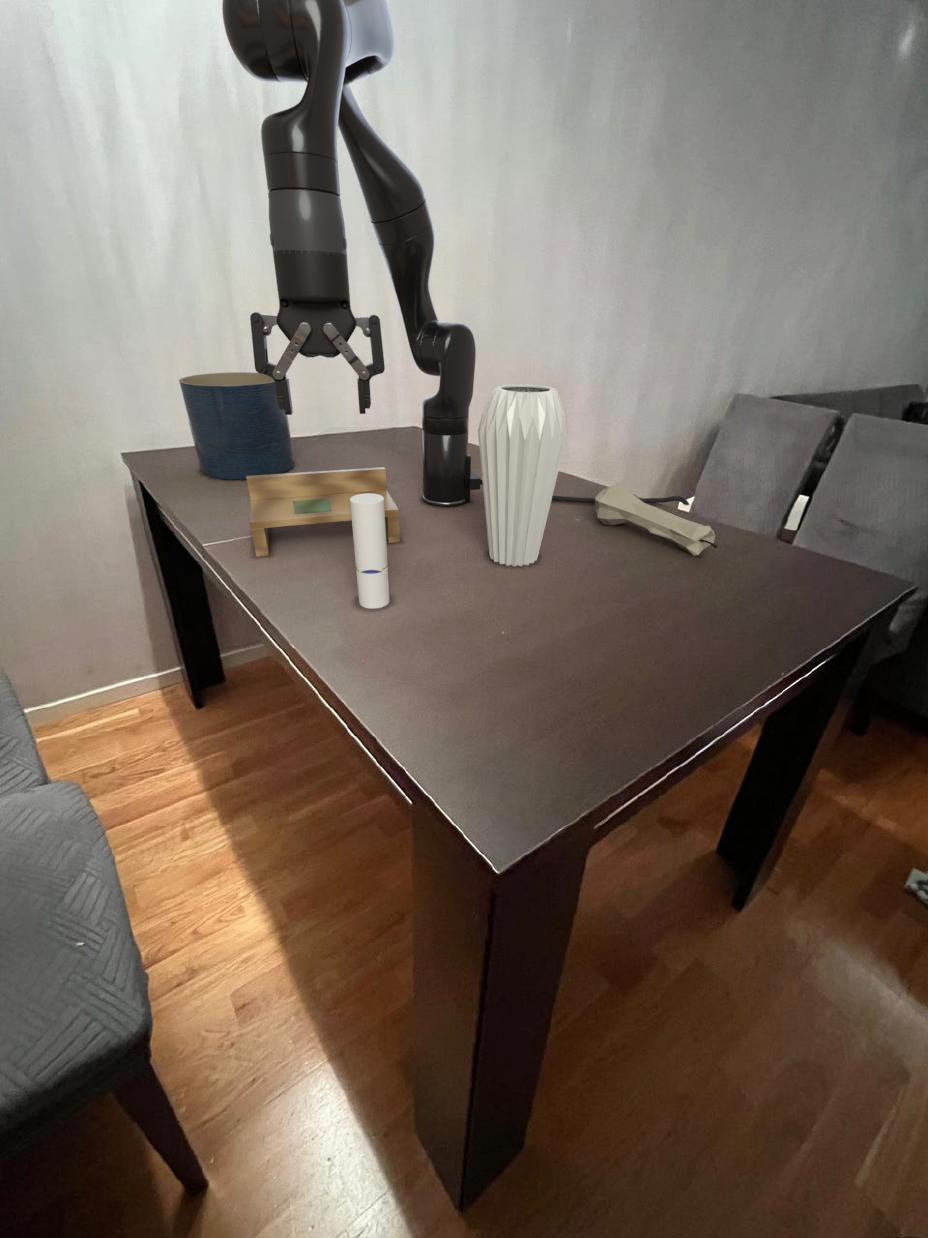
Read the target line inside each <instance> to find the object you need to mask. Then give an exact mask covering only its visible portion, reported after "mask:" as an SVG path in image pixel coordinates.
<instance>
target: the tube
mask: <svg viewBox="0 0 928 1238" xmlns="http://www.w3.org/2000/svg"><path fill="white" fill-rule="evenodd" d="M350 506H351V517H352V520H351V526H352V527H351V528H352V539H353V550H354V559H355V560H354V561H355V568H356V569H355V570H356V571H355V572H356V583H357V595H358V604H359V605H360V607H362V608H365V609H372V610H373V609H382V608H383V607H386V606H387V605H389V603H390V601H391V600H390V584H389V567H388V549H387V538H386V529H385V511H384V497H383V496H381V495H378V494H371V493H365V494H358V495H355V496H352V497H351V498H350Z"/></svg>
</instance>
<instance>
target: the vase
mask: <svg viewBox="0 0 928 1238" xmlns="http://www.w3.org/2000/svg"><path fill="white" fill-rule="evenodd" d="M567 424H568V423H567V417H566V410H565V407H564V404H563V402H562V399H561V397H560V395H559V392H558V390H557V388H555V387H550V386H547V385H542V384H541V385H539V384H538V385H537V384H526V383H523V384H522V383H521V384H518V383H515V384H501V385H498V386H497V385H496V386H495V387H494V388H493V390H492V391H491V394H489V397H488V398H487V401H486V402H485V404H484V406H483V409H482V413H481V417H480V420H479V424H478V427H477V435H478V436H477V437H478V448H479V460H480V470H481V471H480V472H481V480H482V482H483V485H482V491H483V503H484V513H485V514H484V515H485V524H486V536H487V545H488V555H489V557H490V560H493V562H494V563H499V564H498V565H504V566H506V567H508V566H512V567H513V568H515V567H518V566H519V567H523V566H529V565H530V564H535V562H537V561H538V557H539V553H540V549H541V545H542V541H543V537H544V533H545V529H546V525H547V520H548V518H549V517H548V516H549V512H550V507H551V505H552V501H553V500H552V496H554V493H555V492H554V491H555V488H556V487H555V486H556V484H557V480H558V479H557V478H558V475H559V469H560V468H561V467H560V466H561V462H562V458H563V453H564V449H565V445H566V440H567V437H568V426H567Z"/></svg>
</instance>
